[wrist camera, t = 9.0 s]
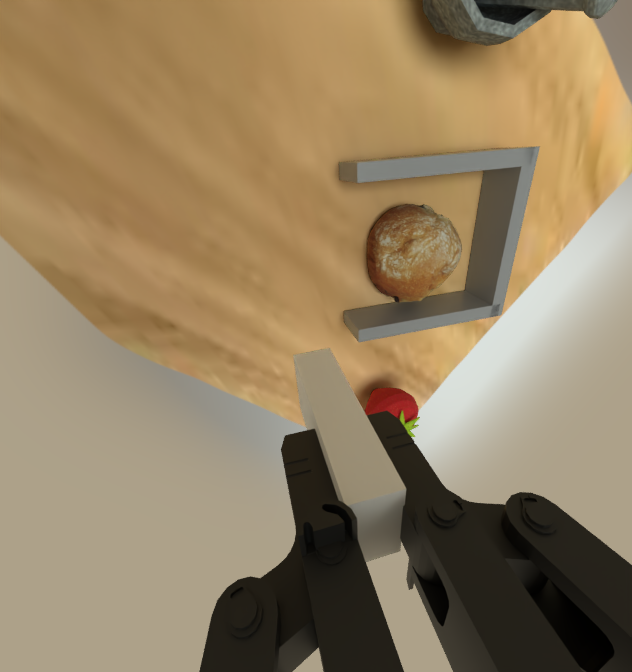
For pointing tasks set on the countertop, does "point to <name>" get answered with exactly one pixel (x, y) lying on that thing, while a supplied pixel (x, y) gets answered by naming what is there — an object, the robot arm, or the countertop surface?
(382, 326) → the box
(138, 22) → the countertop surface
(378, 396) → the strawberry
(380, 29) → the countertop surface
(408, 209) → the bread roll
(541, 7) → the mortar and pestle
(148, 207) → the countertop surface
